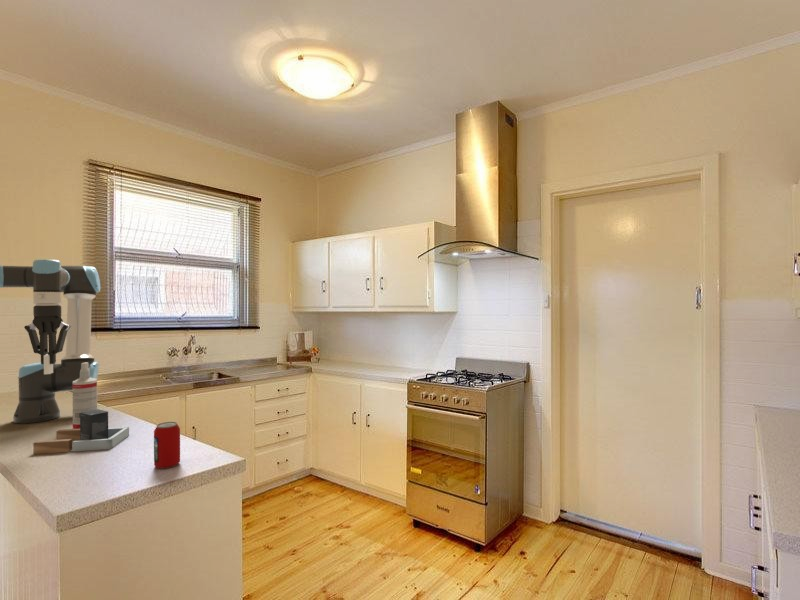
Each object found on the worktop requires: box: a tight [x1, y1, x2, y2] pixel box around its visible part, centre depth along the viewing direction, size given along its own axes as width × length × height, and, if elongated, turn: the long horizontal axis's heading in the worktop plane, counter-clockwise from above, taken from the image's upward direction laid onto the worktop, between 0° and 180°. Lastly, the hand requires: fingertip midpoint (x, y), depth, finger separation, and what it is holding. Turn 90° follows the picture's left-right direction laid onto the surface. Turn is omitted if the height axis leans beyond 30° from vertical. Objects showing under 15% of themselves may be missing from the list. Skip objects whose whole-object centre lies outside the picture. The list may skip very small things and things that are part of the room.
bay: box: [72, 426, 130, 452], centre depth 151 cm, size 15×11×3 cm
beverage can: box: [153, 421, 181, 470], centre depth 130 cm, size 7×7×12 cm
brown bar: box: [32, 428, 80, 455], centre depth 149 cm, size 15×10×4 cm, turn 11°
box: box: [79, 408, 109, 441], centre depth 152 cm, size 8×6×11 cm
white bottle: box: [72, 362, 98, 429], centre depth 169 cm, size 8×8×25 cm
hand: (48, 373), depth 153 cm, fingers closed
